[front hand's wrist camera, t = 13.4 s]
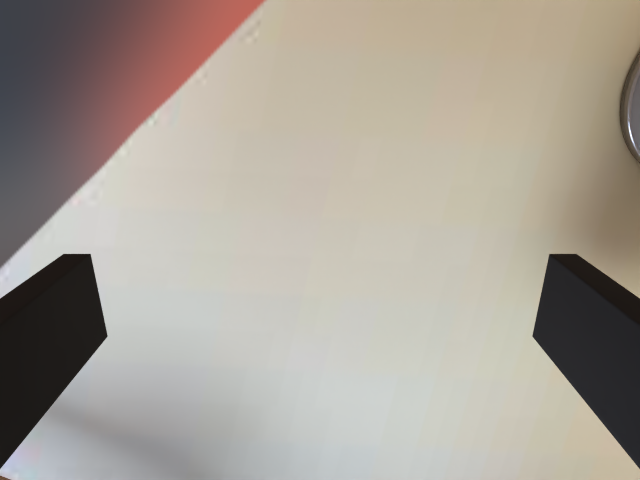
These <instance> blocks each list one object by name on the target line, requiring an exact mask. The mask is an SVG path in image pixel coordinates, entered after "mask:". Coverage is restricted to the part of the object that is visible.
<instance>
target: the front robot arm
mask: <svg viewBox="0 0 640 480" xmlns="http://www.w3.org/2000/svg"><path fill="white" fill-rule="evenodd" d="M620 116H621V127H622V132H623V136H624V139H625V142H626V144H627V146H628V148H629V150H630V152H631V153H632V155H633V156H634V157H635V158H636V160H637V161H638V162H639V163H640V53H639V54H638V56H637V58H636V60H635V61H634V63H633V65H632V67H631V70H630V72H629V74H628V77H627V80H626V83H625V86H624V90H623V94H622V100H621V111H620ZM106 338H107V331H106V327H105V322H104V317H103V312H102V307H101V302H100V298H99V293H98V288H97V283H96V278H95V273H94V269H93V264H92V259H91V254H63V255H62V256H60V257H59V258H57V259H56V260H55V261H53V262H52V263H50V264H49V265H47V266H46V267H45V268H43V269H42V270H40V271H39V272H37V273H36V274H35V275H33V276H32V277H30V278H29V279H28V280H26V281H25V282H23V283H22V284H20V285H19V286H18V287H16V288H15V289H13V290H12V291H10V292H9V293H8V294H6V295H5V296H3V297H2V298H0V469H1V467H2V466H3V465H4V464H5V462H6V461H7V460H8V459H9V457H10V456H11V455H12V454H13V452H14V451H15V450H16V449H17V448H18V446H19V445H20V444H21V443H22V441H23V440H24V439H25V438H26V436H27V435H28V434H29V433H30V431H31V430H32V429H33V428H34V427H35V425H36V424H37V423H38V422H39V420H40V419H41V418H42V417H43V415H44V414H45V413H46V412H47V410H48V409H49V408H50V407H51V406H52V404H53V403H54V402H55V401H56V399H57V398H58V397H59V396H60V394H61V393H62V392H63V391H64V389H65V388H66V387H67V386H68V385H69V383H70V382H71V381H72V380H73V378H74V377H75V376H76V375H77V373H78V372H79V371H80V370H81V368H82V367H83V366H84V365H85V364H86V362H87V361H88V360H89V359H90V357H91V356H92V355H93V354H94V352H95V351H96V350H97V349H98V347H99V346H100V345H101V344H102V343H103V341H104V340H105V339H106ZM533 338H534V339H535V340H536V341H537V343H538V344H539V345H540V346H541V347H542V349H543V350H544V351H545V352H546V354H547V355H548V356H549V357H550V359H551V360H552V361H553V362H554V364H555V365H556V366H557V367H558V368H559V370H560V371H561V372H562V373H563V375H564V376H565V377H566V378H567V380H568V381H569V382H570V383H571V385H572V386H573V387H574V388H575V389H576V391H577V392H578V393H579V394H580V396H581V397H582V398H583V399H584V401H585V402H586V403H587V404H588V406H589V407H590V408H591V409H592V410H593V412H594V413H595V414H596V415H597V417H598V418H599V419H600V420H601V422H602V423H603V424H604V425H605V427H606V428H607V429H608V430H609V431H610V433H611V434H612V435H613V436H614V438H615V439H616V440H617V441H618V443H619V444H620V445H621V446H622V448H623V449H624V450H625V451H626V452H627V454H628V455H629V456H630V457H631V459H632V460H633V461H634V462H635V464H636V465H637V466H638V467H639V469H640V298H638V297H637V296H635V295H634V294H632V293H631V292H630V291H628V290H627V289H625V288H624V287H622V286H621V285H620V284H618V283H617V282H615V281H614V280H612V279H611V278H610V277H608V276H607V275H605V274H604V273H603V272H601V271H600V270H598V269H597V268H595V267H594V266H593V265H591V264H590V263H588V262H587V261H585V260H584V259H583V258H581V257H580V256H578V255H577V254H549V259H548V264H547V269H546V273H545V278H544V283H543V288H542V293H541V298H540V302H539V307H538V312H537V317H536V322H535V327H534V331H533Z"/></svg>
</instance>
